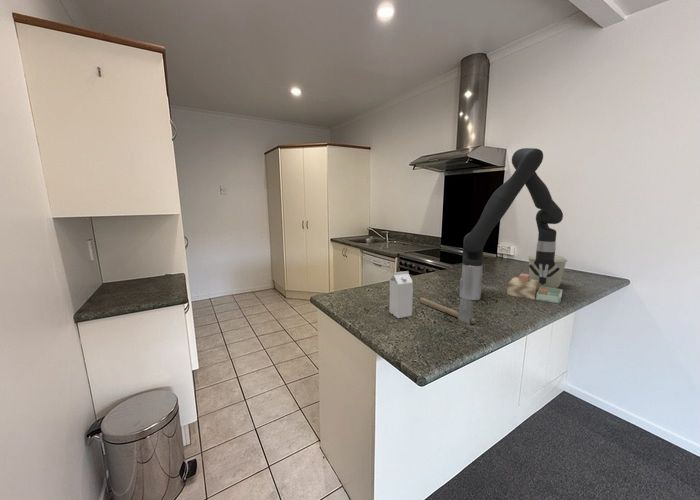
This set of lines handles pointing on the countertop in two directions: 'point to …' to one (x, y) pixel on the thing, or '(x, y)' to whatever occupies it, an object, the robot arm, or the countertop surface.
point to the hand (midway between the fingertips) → (542, 284)
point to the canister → (554, 279)
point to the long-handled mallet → (463, 314)
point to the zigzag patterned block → (523, 288)
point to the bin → (550, 295)
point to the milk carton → (401, 294)
